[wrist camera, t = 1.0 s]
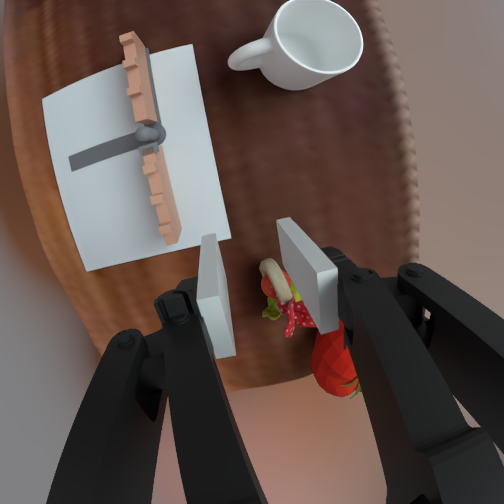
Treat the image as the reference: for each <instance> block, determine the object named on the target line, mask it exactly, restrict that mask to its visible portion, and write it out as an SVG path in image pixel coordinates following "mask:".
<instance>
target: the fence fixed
mask: <svg viewBox="0 0 504 504" xmlns="http://www.w3.org/2000/svg"><path fill="white" fill-rule="evenodd" d="M119 37H120V43H121V44H122V45H123V46H124V54H125V60H124V61H122V62H123V68H124V69H125V70H127V75H128V82H129V88H126V89H127V95H128V96H129V97H131V100H132V105H133V111H134V116H135V121H136V122H137V123H141V124H146V125H149V124H152V123H156V122H157V117H156V111H155V106H154V101H153V95H152V90H151V84H150V78H149V72H148V66H147V59H146V53H145V46H144V45H143V43H142V42H141V40H140V39H139V38H138V36H137V35H136V34H135V32H134V31H132V32H129V33H126V34H123V35H121V36H119ZM135 137H136V139H137V140H139V141H157V140H159V139H160V137H161V132H160V131H159V130H158V129H154V128H149V127H144V126H141V127H139V128H137V130H136V131H135Z"/></svg>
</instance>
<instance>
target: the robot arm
mask: <svg viewBox="0 0 504 504" xmlns="http://www.w3.org/2000/svg"><path fill="white" fill-rule="evenodd" d="M276 222H277V229H278V235H279V242H280V248H281V255H282V261H283V266H284V268H285V269H286V271H287V273H288V275H289V277H290V278H291V280H292V282H293V284H294V286H295V287H296V289H297V291H298V293H299V295H300V297H301V298H302V300H303V302H304V304H305V306H306V308H307V309H308V311H309V313H310V315H311V317H312V319H313V321H314V322H315V324H316V326H317V328H318V330H319V332H320V334H325V333H328V332H332V331H335V330H338V329H339V318H340V320H341V321H342V323H343V324H344V343H343V348H344V349H346V345H347V346H348V349H349V352H350V355H351V358H352V361H353V365H354V368H355V371H356V374H357V377H358V380H359V384H360V387H361V390H362V393H363V397H364V400H365V403H366V407H367V410H368V414H369V418H370V421H371V425H372V428H373V432H374V436H375V439H376V443H377V447H378V451H379V455H380V458H381V463H382V467H383V471H384V475H385V480H386V484H387V498H386V504H504V466H503V464H502V461H501V459H500V457H499V454H498V452H497V450H496V448H495V445H494V443H495V444H496V445H497V447H498V448H499V449H500V450H501V451H502V453H503V454H504V319H502V318H501V317H500V316H498V315H497V314H496V313H494V312H493V311H491V310H490V309H489V308H487V307H486V306H485V305H483V304H482V303H480V302H479V301H478V300H476V299H475V298H473V297H472V296H470V295H469V294H467V293H466V292H465V291H463V290H462V289H460V288H459V287H457V286H456V285H454V284H453V283H451V282H450V281H448V280H446V279H445V278H444V277H442V276H440V275H439V274H437V273H436V272H434V271H433V270H431V269H430V268H428V267H426V266H424V265H422V264H417V263H408V264H404V265H402V266H400V267H399V269H398V275H397V277H389V278H380V276H379V275H378V274H377V273H376V272H375V271H374V270H371V269H368V268H358V267H357V266H356V265H355V264H354V263H353V262H352V261H351V260H350V259H348V257H346V256H345V255H344V254H343V253H342V252H341V251H340V250H339V249H336V248H334V247H331V246H330V247H325V248H321V249H319V247H318V246H317V245H316V244H315V243H314V242H313V241H312V240H311V239H310V238H309V237H308V236H307V235H306V234H305V233H304V232H303V231H302V230H301V229H300V228H299V227H298V225H297V224H296V223H295V222H294V221H293V220H292V219H291V218H290V217H289V218H284V219H279V220H276ZM154 306H155V308H156V311H157V313H158V315H159V318H160V320H161V323H162V329H161V330H159V331H157V332H155V333H152V334H150V335H147V336H145V337H143V335H142V333H141V332H140V331H139V330H137V329H128V330H123V331H122V332H119V333H117V334H116V335H115V336H114V337H113V338H112V339H111V340H110V342H109V344H108V346H107V348H106V350H105V352H104V354H103V356H102V358H101V360H100V362H99V365H98V367H97V369H96V371H95V373H94V375H93V378H92V380H91V382H90V384H89V387H88V389H87V391H86V393H85V396H84V398H83V400H82V403H81V405H80V408H79V410H78V412H77V415H76V418H75V420H74V423H73V425H72V428H71V430H70V433H69V436H68V438H67V441H66V444H65V446H64V449H63V452H62V455H61V458H60V460H59V463H58V467H57V469H56V473H55V476H54V479H53V482H52V485H51V489H50V492H49V495H48V499H47V503H46V504H151V500H152V492H153V484H154V477H155V469H156V463H157V456H158V449H159V443H160V437H161V431H162V425H163V419H164V413H165V408H166V403H167V397H168V398H169V406H170V414H171V421H172V428H173V434H174V441H175V446H176V452H177V458H178V463H179V468H180V474H181V478H182V483H183V488H184V492H185V497H186V501H187V504H268V502H267V499H266V497H265V495H264V492H263V490H262V488H261V485H260V483H259V480H258V478H257V476H256V473H255V471H254V468H253V466H252V463H251V461H250V458H249V456H248V453H247V451H246V448H245V445H244V443H243V440H242V437H241V435H240V432H239V429H238V426H237V424H236V421H235V418H234V416H233V412H232V410H231V407H230V404H229V401H228V398H227V395H226V392H225V389H224V386H223V383H222V380H221V377H220V374H219V371H218V368H217V365H216V362H215V360H214V353H215V356H216V359H219V358H224V357H229V356H234V355H236V351H235V343H234V336H233V328H232V320H231V312H230V304H229V296H228V288H227V279H226V274H225V270H224V266H223V262H222V258H221V254H220V250H219V245H218V241H217V237H216V233H213V234H209V235H204V236H202V239H201V250H200V261H199V273H198V277H194V278H189V279H185V280H182V281H181V282H180V283H179V284H178V286H177V288H176V289H174V290H170V291H167V292H165V293H163V294H162V295H160V296H159V297H158V298H157V299H156V300H155V303H154ZM426 309H427V310H428V311H429V312H430V313H431V315H430V319H427V318H426V317H425V316H424V315H425V310H426ZM452 394H453V395H454V397H455V398H456V399H457V400H458V401H459V402H460V403H461V404H462V406H463V407H464V408H465V409H466V410H467V411H468V412H469V414H470V415H471V416H472V417H473V418H474V419H475V420H476V422H477V423H478V424H479V425H480V426H481V427H482V428H481V427H474V428H472V427H470V426H469V425H468V424H467V422H466V421H465V419H464V416H463V414H462V412H461V411H460V408H459V406H458V404H457V402H456V400H455V399H454V397H453V395H452ZM493 442H494V443H493Z"/></svg>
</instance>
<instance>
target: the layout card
mask: <svg viewBox="0 0 504 504" xmlns="http://www.w3.org/2000/svg"><path fill="white" fill-rule="evenodd" d="M145 53H146V59H147V66H148V72H149V78H150V84H151V90H152V95H153V101H154V106H155V111H156V117H157V122H156V123H152V124H149V125H146V124H141V123H137V122H136V121H135V116H134V111H133V105H132V100H131V97H129V96H128V95H127V89H126V88H129V82H128V75H127V70H125V69H124V68H123V64H120V65H117V66H114V67H112V68H109V69H106V70H104V71H101V72H99V73H96V74H94V75H91V76H89V77H87V78H84V79H82V80H80V81H78V82H76V83H73V84H71V85H69V86H67V87H65V88H63V89H61V90H59V91H57V92H55V93H53V94H51V95H49V96H47V97H45V98H44V99H42V103H43V111H44V118H45V125H46V131H47V137H48V142H49V148H50V153H51V157H52V162H53V167H54V171H55V175H56V179H57V183H58V187H59V191H60V195H61V198H62V202H63V205H64V209H65V212H66V215H67V218H68V222H69V225H70V228H71V231H72V234H73V237H74V240H75V242H76V245H77V248H78V251H79V253H80V256H81V259H82V261H83V264H84V266H85V269H86V271H92V270H96V269H100V268H104V267H108V266H112V265H116V264H121V263H125V262H129V261H133V260H137V259H142V258H146V257H150V256H155V255H159V254H163V253H167V252H172V251H176V250H181V249H185V248H189V247H194V246H198V245H201V239H202V236H204V235H209V234H213V233H216V237H217V241H221V240H225V239H230V238H231V234H230V230H229V225H228V220H227V216H226V211H225V206H224V202H223V197H222V192H221V188H220V183H219V178H218V173H217V168H216V164H215V159H214V154H213V149H212V144H211V139H210V134H209V129H208V124H207V119H206V114H205V109H204V104H203V99H202V93H201V88H200V83H199V78H198V73H197V67H196V62H195V56H194V51H193V46H192V44H190V45H186V46H181V47H177V48H173V49H169V50H165V51H161V52H158V53H154V54H151V55H149V49H148V48H145ZM141 126H144V127H149V128H154V129H158V130H159V131H160V132H161V137H160V139H159V140H157V141H139V140H137V139H136V137H135V131H136V130H137V128H139V127H141ZM154 142H157V143H158V146H160V145H162V147H163V152H164V156H165V161H166V165H167V170H168V174H169V178H170V182H171V187H172V191H173V195H174V199H175V203H176V207H177V211H178V215H179V218H180V222H181V226H182V231H181V234H180V237H179V240H178V243H176V244H172V245H167V246H166V243H165V240H164V236H163V234H162V235H160V233H159V230H158V226H159V224H160V222H159V219H158V215H157V211H156V208H155V205H152V204H151V201H150V196H151V195H152V192H151V188H150V184H149V180H148V176H147V174H144V173H143V169H142V166H144V165H145V163H144V159H143V157H140V155H139V151H138V147H141V146H144V145H147V144H151V143H154Z"/></svg>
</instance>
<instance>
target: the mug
mask: <svg viewBox="0 0 504 504" xmlns="http://www.w3.org/2000/svg"><path fill="white" fill-rule="evenodd" d="M362 50H363V39H362V34H361V31H360V29H359V26H358V25H357V23H356V21H355V20H354V19H353V17H352V16H351V15H350V14H349V13H348V12H347V11H346V10H345V9H343V8H342V7H340V6H339V5H337V4H336V3H334V2H332V1H329V0H290V1H288V2H286V3H285V4H283V5H282V6H281V7H280V8H279V10H278V11H277V13H276V14H275V16H274V18H273V20H272V22H271V23H270V25H269V27H268V29H267V31H266V33H265V34H264V36H263V38H262V39H259V40H256V41H253V42H250V43H248V44H246V45H244V46H242V47H240V48H239V49H237V50H236V51H234V52H233V53H232V54H231V55H230V57H229V59H228V65H229V67H230V68H231V69H233V70H238V71H242V70H250V69H255V68H260V70H261V72H262V74H263V75H264V76H265V77H266V78H267V79H268V80H269V81H270V82H271V83H273V84H274V85H276V86H278V87H280V88H283V89H287V90H303V89H307V88H310V87H312V86H315V85H317V84H319V83H321V82H323V81H325V80H327V79H329V78H332V77H334V76H336V75H338V74H340V73H343V72H345V71H347V70H349V69H350V68H352V67H353V66H354V65H355V64H356V63H357V62H358V60H359V58H360V56H361V54H362Z"/></svg>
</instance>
